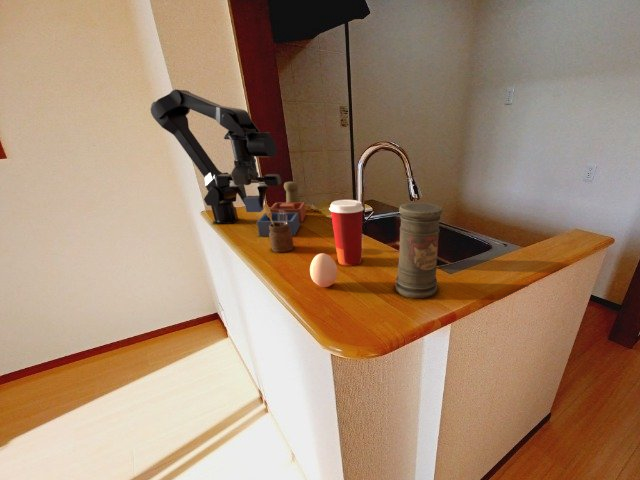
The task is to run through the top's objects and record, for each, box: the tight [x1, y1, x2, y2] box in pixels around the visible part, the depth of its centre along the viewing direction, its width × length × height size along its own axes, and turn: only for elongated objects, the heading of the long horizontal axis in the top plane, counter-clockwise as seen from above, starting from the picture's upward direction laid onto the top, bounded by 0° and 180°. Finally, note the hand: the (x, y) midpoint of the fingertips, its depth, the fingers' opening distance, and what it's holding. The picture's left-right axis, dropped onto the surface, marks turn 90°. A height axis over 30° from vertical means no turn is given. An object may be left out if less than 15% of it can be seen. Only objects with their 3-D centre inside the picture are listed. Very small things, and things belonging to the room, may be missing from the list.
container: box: [394, 202, 443, 299], centre depth 66 cm, size 9×9×18 cm
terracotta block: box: [280, 202, 295, 209], centre depth 115 cm, size 4×4×4 cm
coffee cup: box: [328, 199, 365, 267], centre depth 79 cm, size 8×8×15 cm
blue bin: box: [256, 212, 301, 237], centre depth 103 cm, size 11×11×5 cm
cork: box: [283, 181, 301, 203], centre depth 124 cm, size 6×6×11 cm
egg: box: [309, 252, 338, 288], centre depth 69 cm, size 6×6×8 cm
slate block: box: [244, 195, 265, 213], centre depth 105 cm, size 4×4×4 cm
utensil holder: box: [263, 204, 294, 253], centre depth 87 cm, size 6×6×12 cm
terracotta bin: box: [269, 201, 307, 223], centre depth 116 cm, size 11×11×5 cm
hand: (254, 207), depth 106 cm, fingers closed on slate block, 4 cm apart
